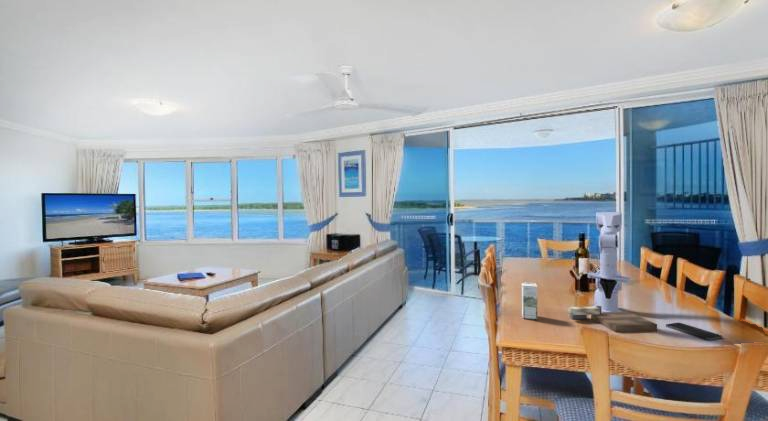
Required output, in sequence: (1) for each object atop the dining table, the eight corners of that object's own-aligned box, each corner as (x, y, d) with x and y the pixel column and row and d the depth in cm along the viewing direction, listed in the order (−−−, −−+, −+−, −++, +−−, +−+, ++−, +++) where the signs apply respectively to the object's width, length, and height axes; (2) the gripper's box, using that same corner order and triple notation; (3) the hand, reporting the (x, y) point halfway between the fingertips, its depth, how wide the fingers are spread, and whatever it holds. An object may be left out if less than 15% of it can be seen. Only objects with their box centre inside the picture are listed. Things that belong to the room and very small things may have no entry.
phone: (708, 338, 125) (664, 324, 139) (708, 342, 125) (664, 327, 139) (724, 336, 127) (679, 322, 141) (724, 339, 127) (679, 325, 141)
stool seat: (591, 318, 149) (591, 312, 149) (628, 317, 150) (628, 311, 150) (615, 332, 134) (615, 325, 134) (657, 330, 135) (657, 324, 135)
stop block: (569, 317, 151) (569, 309, 151) (583, 317, 151) (583, 309, 151) (572, 319, 149) (572, 311, 149) (586, 318, 149) (586, 310, 149)
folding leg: (599, 312, 149) (599, 305, 148) (602, 314, 146) (602, 307, 146) (567, 313, 149) (567, 305, 148) (570, 314, 146) (570, 307, 146)
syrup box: (535, 315, 154) (535, 282, 154) (537, 320, 149) (537, 285, 148) (521, 314, 156) (521, 281, 156) (523, 319, 150) (522, 284, 150)
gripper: (584, 263, 145) (584, 296, 146) (626, 268, 134) (626, 304, 135) (591, 261, 150) (591, 293, 150) (632, 265, 139) (631, 300, 140)
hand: (608, 298), depth 143 cm, fingers closed
